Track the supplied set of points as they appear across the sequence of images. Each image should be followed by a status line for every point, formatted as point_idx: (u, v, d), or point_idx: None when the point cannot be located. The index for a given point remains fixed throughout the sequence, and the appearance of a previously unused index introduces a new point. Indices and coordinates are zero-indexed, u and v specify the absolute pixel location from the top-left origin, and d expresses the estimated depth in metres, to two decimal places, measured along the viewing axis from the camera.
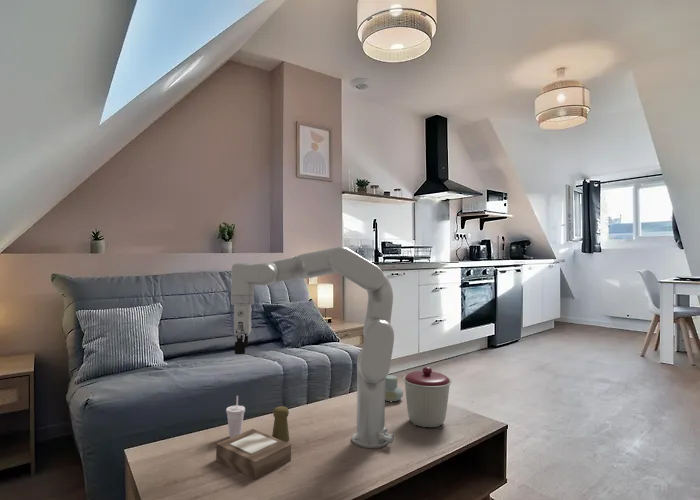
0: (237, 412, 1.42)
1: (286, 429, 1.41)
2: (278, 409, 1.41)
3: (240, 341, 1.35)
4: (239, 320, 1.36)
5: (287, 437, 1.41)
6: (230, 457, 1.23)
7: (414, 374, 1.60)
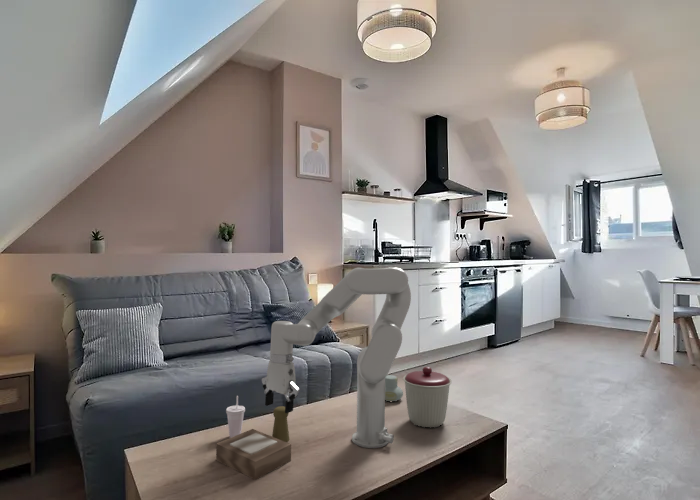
0: (237, 412, 1.42)
1: (286, 429, 1.41)
2: (278, 409, 1.41)
3: (292, 399, 1.39)
4: (289, 379, 1.39)
5: (287, 437, 1.41)
6: (230, 457, 1.23)
7: (414, 374, 1.60)
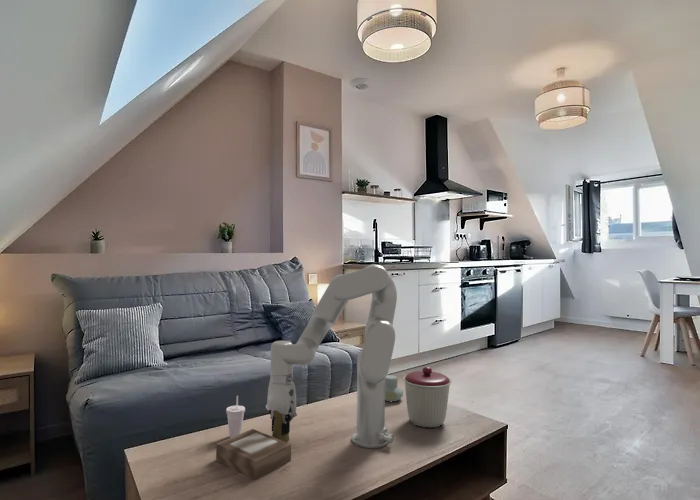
0: (237, 412, 1.42)
1: None
2: None
3: (288, 422, 1.40)
4: (290, 399, 1.39)
5: (287, 437, 1.41)
6: (230, 457, 1.23)
7: (414, 374, 1.60)
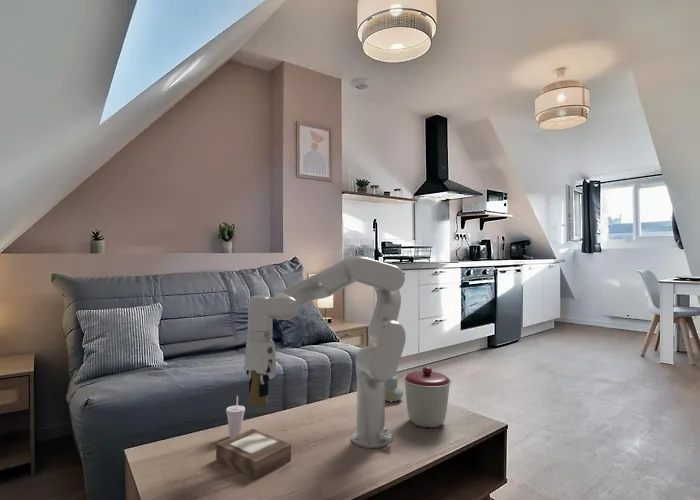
0: (237, 412, 1.42)
1: None
2: None
3: (266, 383, 1.28)
4: (269, 357, 1.27)
5: (265, 399, 1.29)
6: (230, 457, 1.23)
7: (414, 374, 1.60)
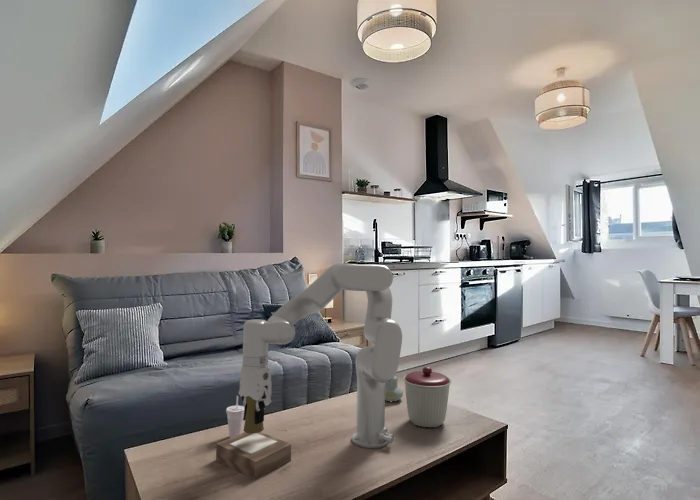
0: (237, 412, 1.42)
1: None
2: None
3: (262, 409, 1.26)
4: (264, 384, 1.25)
5: (261, 426, 1.27)
6: (230, 457, 1.23)
7: (414, 374, 1.60)
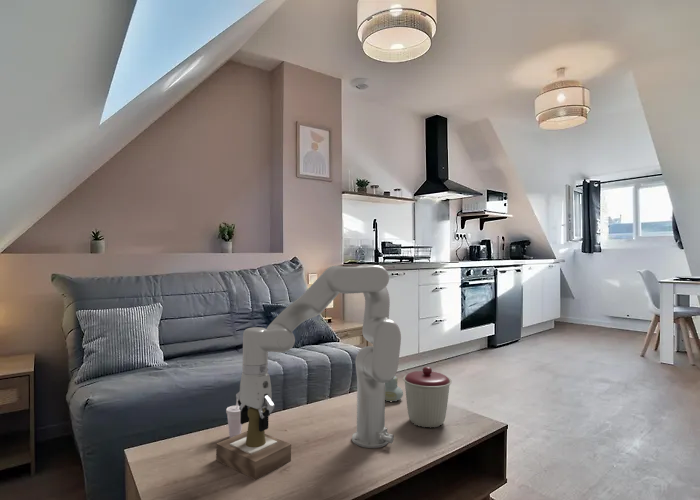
0: (237, 412, 1.42)
1: (262, 431, 1.27)
2: (253, 408, 1.26)
3: (267, 416, 1.25)
4: (264, 392, 1.25)
5: (263, 440, 1.27)
6: (230, 457, 1.23)
7: (414, 374, 1.60)
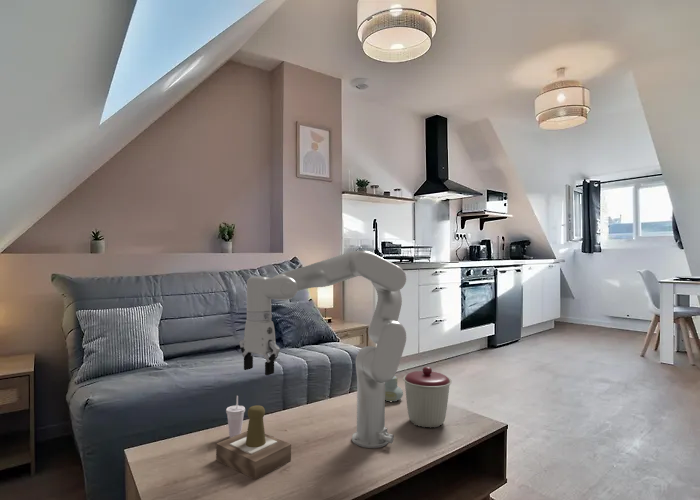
0: (237, 412, 1.42)
1: (262, 431, 1.27)
2: (253, 408, 1.26)
3: (273, 360, 1.26)
4: (269, 338, 1.27)
5: (263, 440, 1.27)
6: (230, 457, 1.23)
7: (414, 374, 1.60)
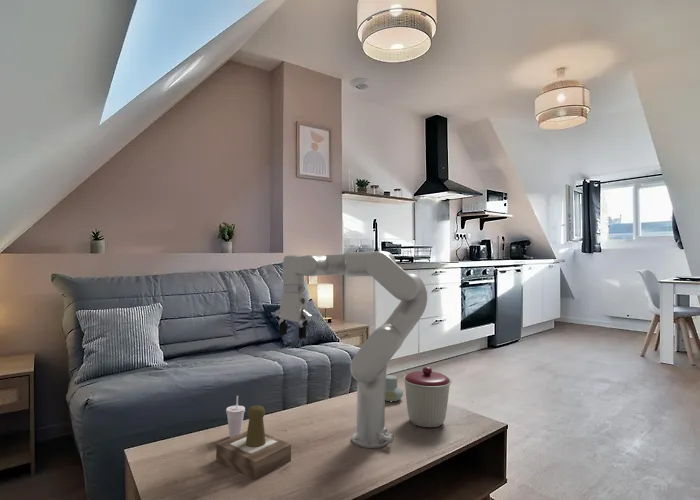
0: (237, 412, 1.42)
1: (262, 431, 1.27)
2: (253, 408, 1.26)
3: (305, 326, 1.49)
4: (302, 307, 1.49)
5: (263, 440, 1.27)
6: (230, 457, 1.23)
7: (414, 374, 1.60)
